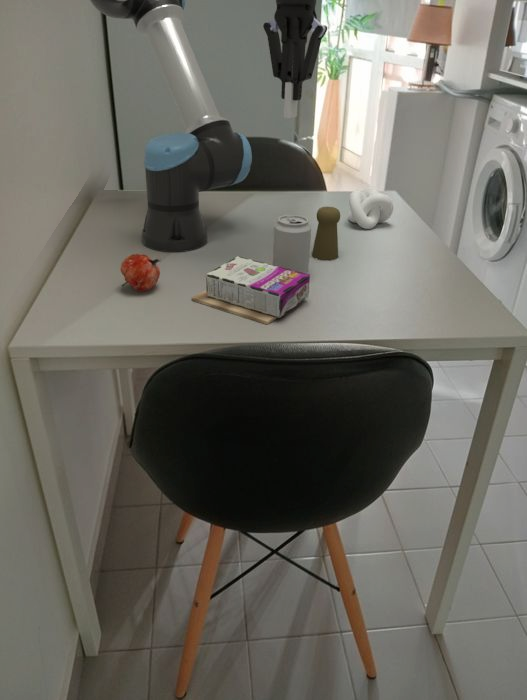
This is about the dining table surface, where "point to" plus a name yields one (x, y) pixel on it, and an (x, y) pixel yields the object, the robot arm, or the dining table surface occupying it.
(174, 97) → the robot arm
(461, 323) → the dining table surface
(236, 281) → the candy bar box
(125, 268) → the pomegranate
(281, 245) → the can
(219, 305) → the wooden board
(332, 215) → the pepper shaker
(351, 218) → the white knot sculpture
